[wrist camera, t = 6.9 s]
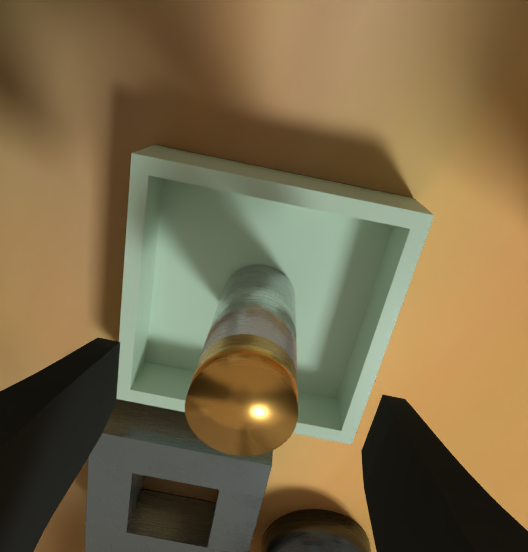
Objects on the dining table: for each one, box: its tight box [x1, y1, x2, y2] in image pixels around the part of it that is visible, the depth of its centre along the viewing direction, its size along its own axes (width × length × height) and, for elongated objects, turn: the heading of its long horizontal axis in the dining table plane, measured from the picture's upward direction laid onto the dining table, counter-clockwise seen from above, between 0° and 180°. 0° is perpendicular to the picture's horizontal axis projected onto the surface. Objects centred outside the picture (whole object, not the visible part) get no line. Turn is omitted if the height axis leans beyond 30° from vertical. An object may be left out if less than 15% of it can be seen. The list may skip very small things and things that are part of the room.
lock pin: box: [185, 264, 298, 456], centre depth 15 cm, size 3×3×7 cm
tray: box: [116, 145, 434, 445], centre depth 17 cm, size 10×10×2 cm
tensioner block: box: [85, 399, 371, 552], centre depth 22 cm, size 15×11×3 cm
